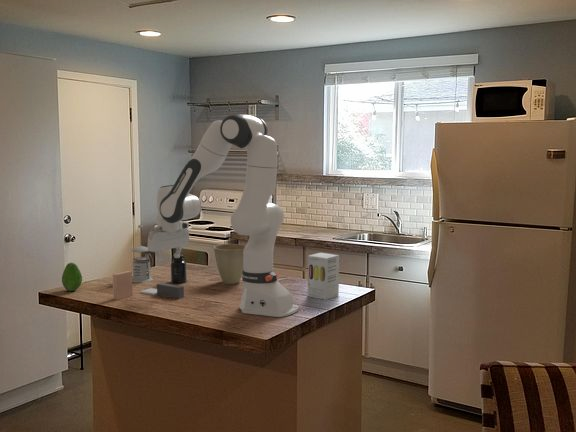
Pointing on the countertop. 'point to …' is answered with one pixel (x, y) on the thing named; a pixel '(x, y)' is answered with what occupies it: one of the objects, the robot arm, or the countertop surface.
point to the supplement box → (323, 276)
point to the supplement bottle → (178, 270)
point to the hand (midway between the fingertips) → (168, 259)
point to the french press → (141, 264)
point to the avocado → (71, 277)
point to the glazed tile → (122, 285)
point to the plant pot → (229, 262)
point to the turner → (166, 290)
